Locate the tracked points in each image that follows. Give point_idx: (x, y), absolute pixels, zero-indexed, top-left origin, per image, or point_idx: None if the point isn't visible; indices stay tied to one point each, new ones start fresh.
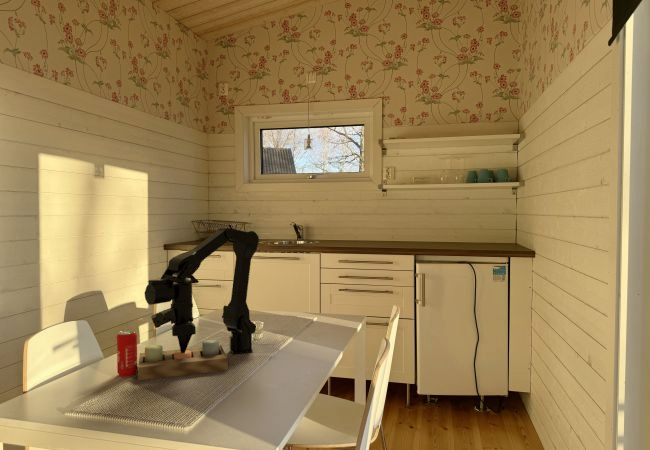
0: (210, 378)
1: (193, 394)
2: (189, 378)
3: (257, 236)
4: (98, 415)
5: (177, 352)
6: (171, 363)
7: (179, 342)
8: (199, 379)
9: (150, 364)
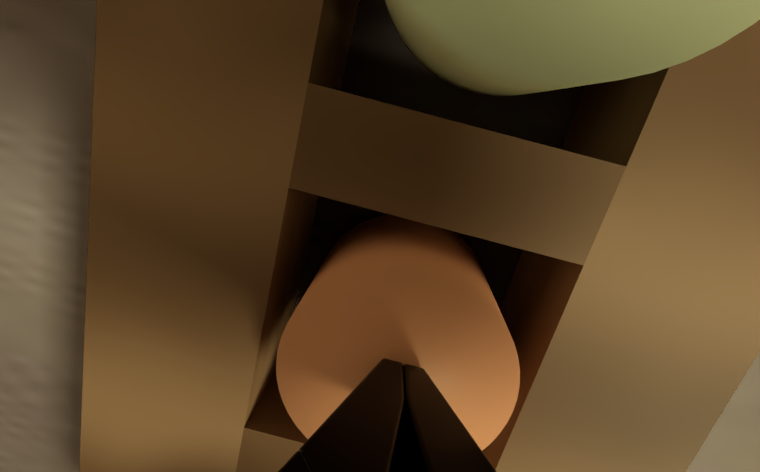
0: (9, 367)
1: None
2: (69, 238)
3: None
4: None
5: (447, 324)
6: (112, 123)
7: (283, 469)
8: (15, 295)
9: None
